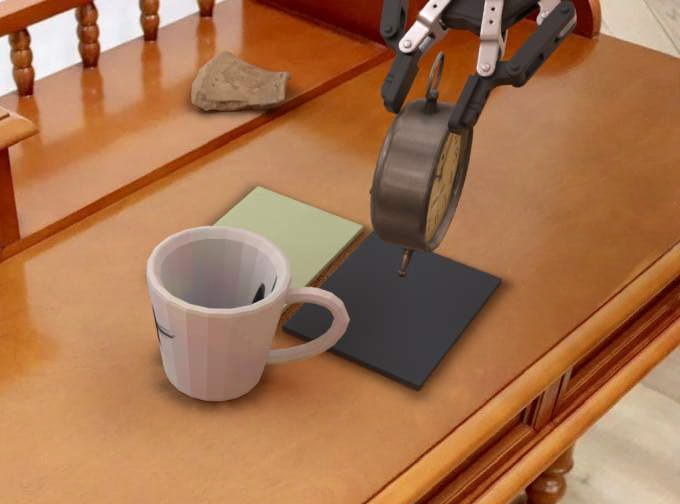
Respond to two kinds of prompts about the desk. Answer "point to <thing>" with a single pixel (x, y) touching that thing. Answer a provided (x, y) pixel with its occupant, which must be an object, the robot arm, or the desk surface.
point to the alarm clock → (419, 174)
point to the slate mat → (397, 309)
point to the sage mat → (294, 232)
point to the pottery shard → (237, 85)
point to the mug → (227, 309)
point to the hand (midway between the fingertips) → (422, 119)
